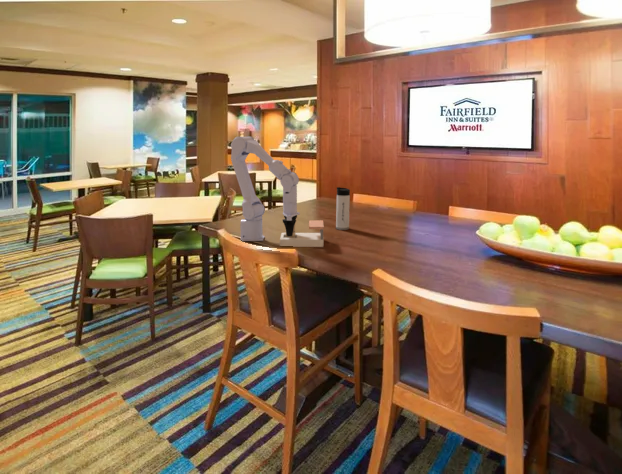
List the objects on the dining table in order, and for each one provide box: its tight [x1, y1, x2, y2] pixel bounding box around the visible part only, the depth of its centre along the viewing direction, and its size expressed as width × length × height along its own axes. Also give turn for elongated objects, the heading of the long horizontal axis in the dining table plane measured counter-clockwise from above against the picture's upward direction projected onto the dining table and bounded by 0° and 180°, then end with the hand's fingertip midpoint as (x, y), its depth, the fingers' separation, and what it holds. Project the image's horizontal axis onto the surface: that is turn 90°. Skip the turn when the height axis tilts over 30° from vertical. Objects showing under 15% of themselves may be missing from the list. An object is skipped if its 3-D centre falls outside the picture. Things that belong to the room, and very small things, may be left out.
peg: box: [286, 224, 296, 238], centre depth 181 cm, size 4×4×8 cm
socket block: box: [279, 219, 325, 248], centre depth 181 cm, size 18×13×8 cm
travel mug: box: [335, 186, 351, 231], centre depth 207 cm, size 6×7×20 cm
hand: (290, 233), depth 181 cm, fingers open, 7 cm apart
